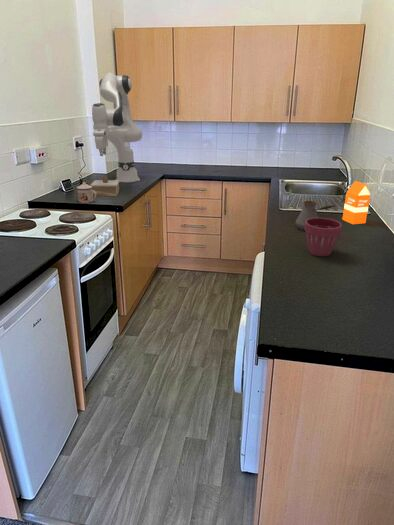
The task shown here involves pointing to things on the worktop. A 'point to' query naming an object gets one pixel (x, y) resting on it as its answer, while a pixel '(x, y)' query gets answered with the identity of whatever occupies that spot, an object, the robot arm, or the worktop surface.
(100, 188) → the box
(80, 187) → the teacup with lid
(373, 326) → the worktop surface
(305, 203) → the coffee pot
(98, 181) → the lid
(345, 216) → the orange juice
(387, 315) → the worktop surface
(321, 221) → the plant pot
